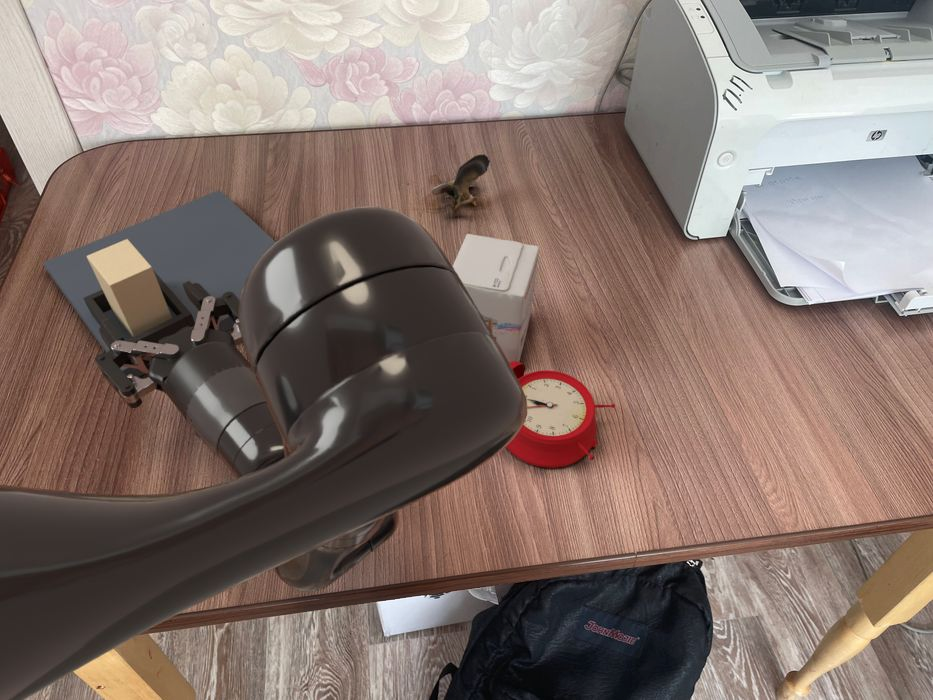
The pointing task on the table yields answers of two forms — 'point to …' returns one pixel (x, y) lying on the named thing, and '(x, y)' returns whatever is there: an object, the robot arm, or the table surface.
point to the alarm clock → (554, 419)
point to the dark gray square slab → (170, 264)
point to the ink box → (500, 286)
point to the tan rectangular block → (130, 287)
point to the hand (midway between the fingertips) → (148, 306)
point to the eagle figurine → (463, 183)
